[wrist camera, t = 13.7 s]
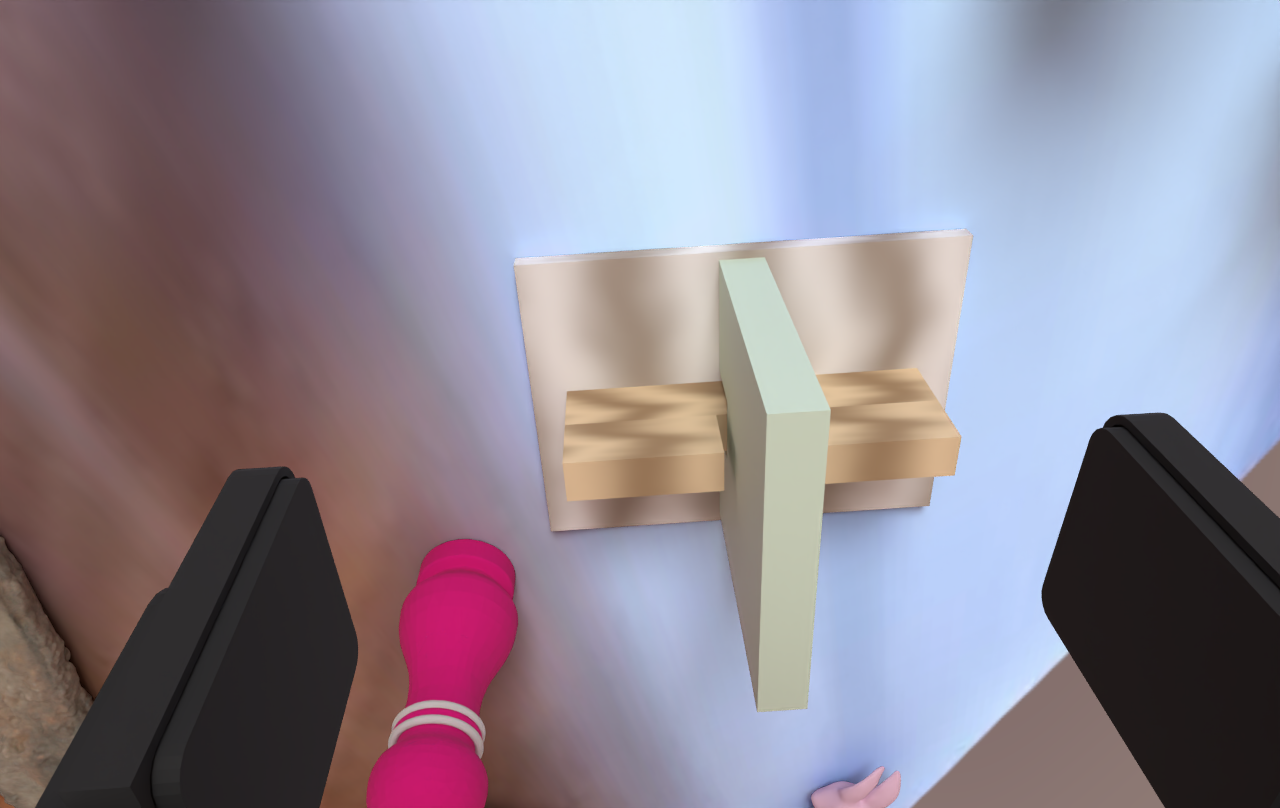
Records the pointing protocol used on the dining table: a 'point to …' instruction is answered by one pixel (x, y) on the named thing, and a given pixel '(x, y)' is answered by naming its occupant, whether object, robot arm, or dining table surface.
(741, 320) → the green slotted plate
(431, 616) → the pepper mill
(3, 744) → the long grey stone
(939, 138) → the dining table surface
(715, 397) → the oak plate stand
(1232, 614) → the robot arm
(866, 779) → the rabbit figure
